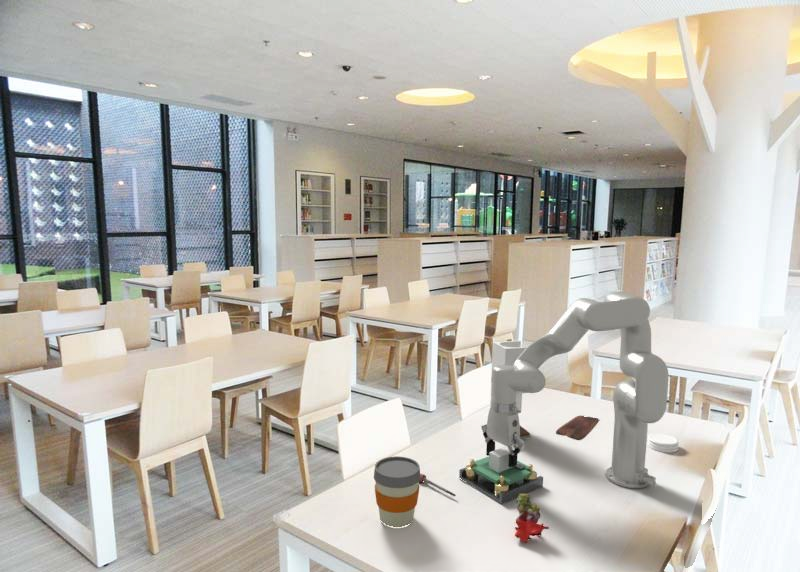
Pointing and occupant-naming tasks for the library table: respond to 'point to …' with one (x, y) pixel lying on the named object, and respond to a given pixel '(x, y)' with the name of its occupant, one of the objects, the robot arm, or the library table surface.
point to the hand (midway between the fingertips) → (501, 460)
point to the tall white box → (507, 356)
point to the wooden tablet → (577, 427)
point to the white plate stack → (663, 442)
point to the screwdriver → (423, 478)
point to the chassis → (501, 484)
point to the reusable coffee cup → (396, 489)
